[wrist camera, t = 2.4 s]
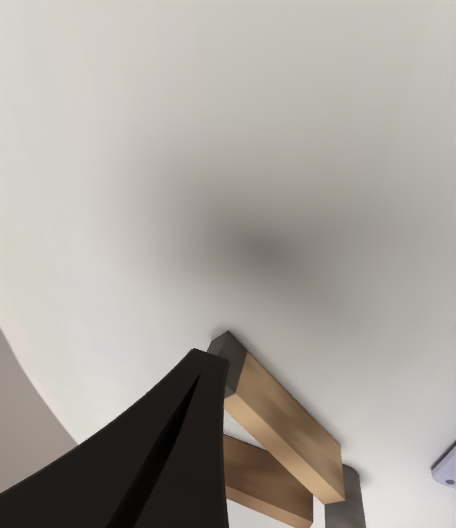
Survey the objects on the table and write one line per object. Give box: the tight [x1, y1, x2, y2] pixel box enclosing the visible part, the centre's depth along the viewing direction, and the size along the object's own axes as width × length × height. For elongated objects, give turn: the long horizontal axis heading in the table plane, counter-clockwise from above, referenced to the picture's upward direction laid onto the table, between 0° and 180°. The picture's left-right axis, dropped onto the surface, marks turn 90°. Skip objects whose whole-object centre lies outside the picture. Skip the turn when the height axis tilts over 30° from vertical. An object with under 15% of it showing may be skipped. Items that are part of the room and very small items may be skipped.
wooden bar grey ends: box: [207, 331, 345, 504], centre depth 18 cm, size 12×2×4 cm, turn 44°
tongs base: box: [223, 434, 366, 528], centre depth 21 cm, size 16×4×4 cm, turn 79°
